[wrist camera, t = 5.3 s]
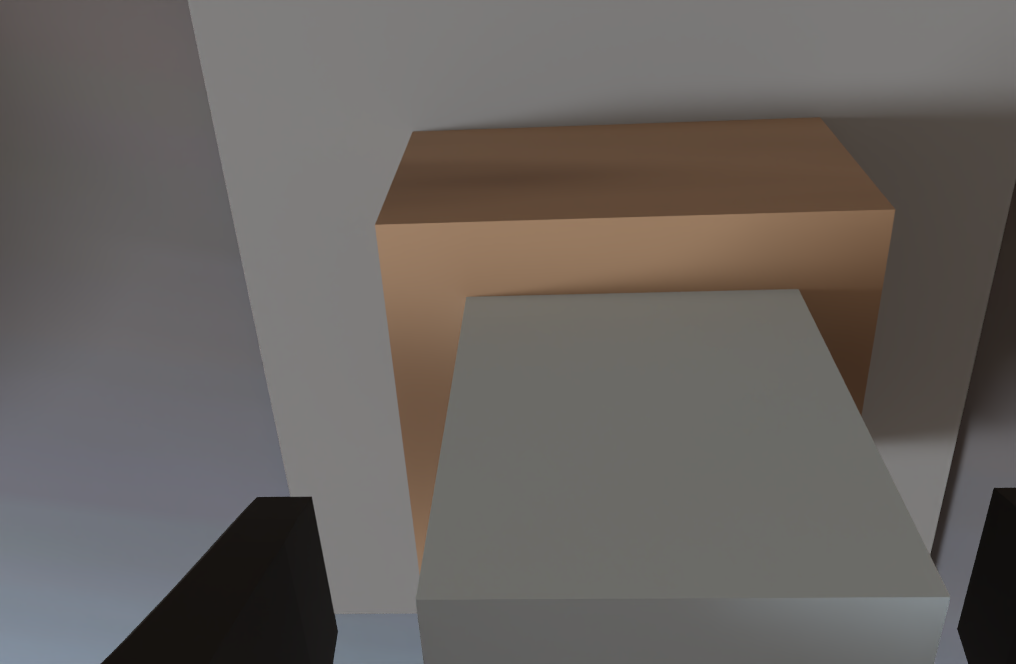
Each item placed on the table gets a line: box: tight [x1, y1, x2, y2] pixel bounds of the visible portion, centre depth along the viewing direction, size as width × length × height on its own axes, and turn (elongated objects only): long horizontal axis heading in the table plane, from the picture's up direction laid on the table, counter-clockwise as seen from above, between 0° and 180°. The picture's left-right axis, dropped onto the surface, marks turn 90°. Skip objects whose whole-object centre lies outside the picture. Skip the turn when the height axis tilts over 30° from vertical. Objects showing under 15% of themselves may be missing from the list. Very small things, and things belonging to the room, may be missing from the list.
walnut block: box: [375, 117, 895, 574], centre depth 14 cm, size 6×6×4 cm
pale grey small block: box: [416, 289, 951, 664], centre depth 10 cm, size 4×4×5 cm
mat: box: [188, 0, 1016, 614], centre depth 16 cm, size 14×12×1 cm
